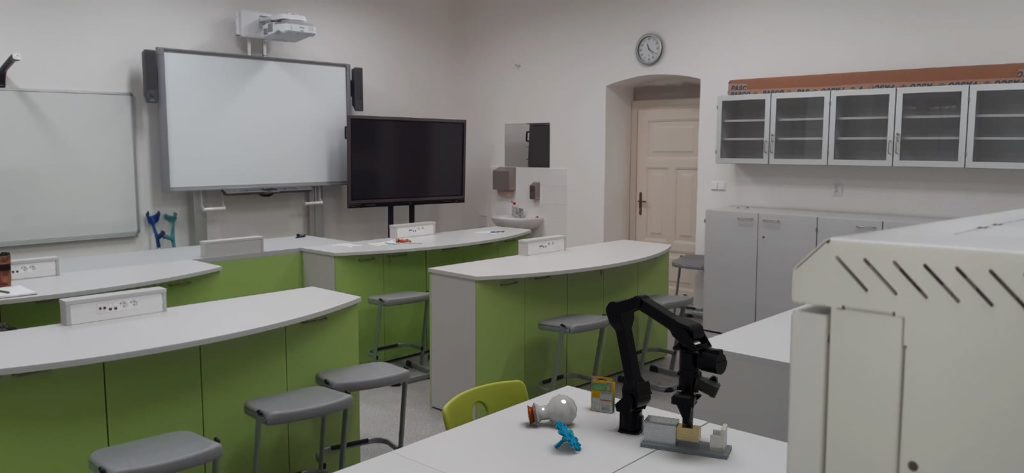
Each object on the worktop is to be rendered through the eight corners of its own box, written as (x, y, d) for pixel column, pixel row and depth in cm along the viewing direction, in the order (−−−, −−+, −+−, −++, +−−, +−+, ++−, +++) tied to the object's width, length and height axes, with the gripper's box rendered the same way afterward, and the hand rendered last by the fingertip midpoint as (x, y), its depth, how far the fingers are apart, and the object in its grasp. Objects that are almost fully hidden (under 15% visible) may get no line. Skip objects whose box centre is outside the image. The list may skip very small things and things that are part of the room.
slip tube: (648, 435, 225) (649, 405, 225) (651, 431, 229) (652, 402, 228) (698, 442, 220) (699, 412, 219) (700, 438, 223) (701, 408, 223)
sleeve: (643, 441, 225) (644, 420, 225) (647, 435, 230) (648, 414, 230) (675, 446, 222) (675, 424, 221) (678, 440, 227) (679, 418, 226)
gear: (579, 451, 215) (555, 422, 217) (563, 465, 216) (539, 436, 218) (586, 443, 226) (563, 416, 228) (571, 456, 227) (548, 429, 229)
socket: (709, 451, 218) (710, 428, 217) (712, 444, 223) (713, 422, 223) (723, 453, 216) (724, 430, 216) (726, 446, 222) (727, 424, 221)
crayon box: (615, 411, 256) (615, 376, 255) (612, 413, 254) (613, 378, 253) (593, 408, 259) (594, 373, 258) (590, 410, 257) (591, 375, 256)
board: (640, 446, 224) (640, 443, 224) (647, 436, 232) (647, 433, 232) (727, 459, 215) (727, 456, 215) (731, 448, 223) (731, 445, 223)
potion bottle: (580, 430, 242) (531, 437, 241) (573, 404, 249) (526, 411, 248) (581, 411, 236) (531, 418, 234) (574, 386, 243) (526, 392, 242)
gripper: (713, 379, 210) (711, 436, 211) (723, 363, 227) (721, 416, 228) (671, 374, 214) (669, 430, 215) (684, 359, 231) (682, 411, 232)
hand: (687, 422), depth 223 cm, fingers closed on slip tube, 3 cm apart
